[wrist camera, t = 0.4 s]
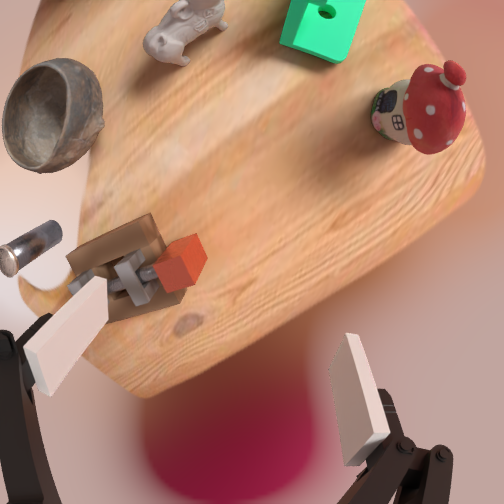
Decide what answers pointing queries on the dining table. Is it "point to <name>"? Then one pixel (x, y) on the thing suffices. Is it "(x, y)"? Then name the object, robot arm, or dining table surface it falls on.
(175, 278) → the pin
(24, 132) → the bowl
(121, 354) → the dining table surface
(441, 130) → the decorative ornament
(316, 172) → the dining table surface
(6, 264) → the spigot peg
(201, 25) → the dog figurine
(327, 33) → the camera mount
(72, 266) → the dock block
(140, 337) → the dining table surface
